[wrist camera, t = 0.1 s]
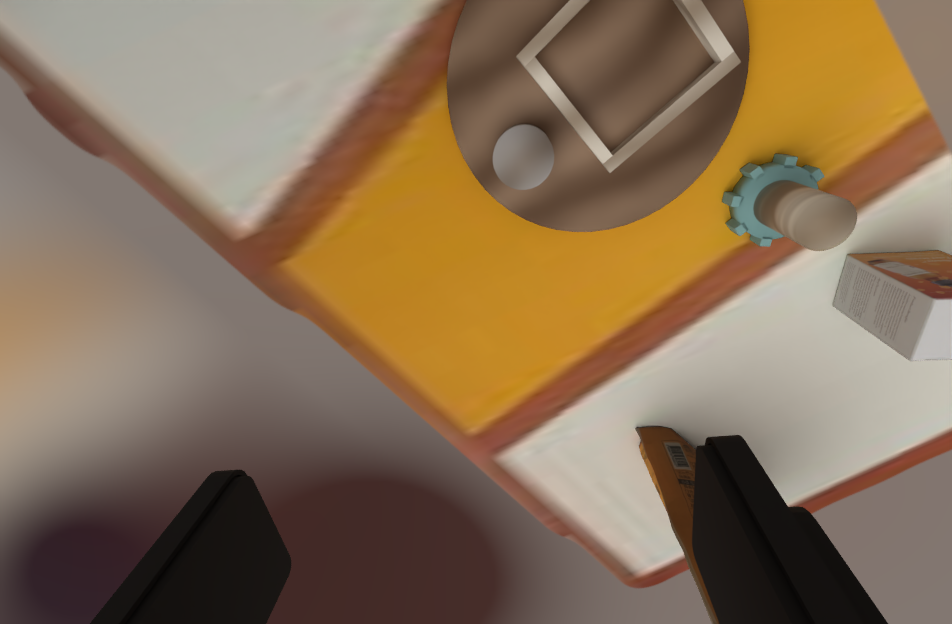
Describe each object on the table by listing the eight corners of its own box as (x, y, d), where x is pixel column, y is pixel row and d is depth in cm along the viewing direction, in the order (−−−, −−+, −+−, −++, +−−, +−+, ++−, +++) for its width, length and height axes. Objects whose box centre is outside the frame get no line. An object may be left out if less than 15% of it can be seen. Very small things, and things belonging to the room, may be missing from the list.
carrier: (392, 82, 40) (378, 82, 36) (623, -185, 32) (638, -225, 28) (567, 275, 47) (571, 293, 43) (797, 95, 38) (830, 95, 34)
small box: (938, 249, 43) (1058, 294, 33) (918, 304, 45) (1024, 361, 36) (844, 252, 43) (935, 297, 34) (829, 306, 46) (910, 363, 36)
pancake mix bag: (657, 397, 52) (789, 686, 27) (762, 487, 56) (959, 807, 31) (612, 431, 55) (693, 723, 29) (715, 514, 59) (863, 831, 34)
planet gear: (705, 196, 42) (749, 221, 34) (786, 134, 40) (854, 146, 31) (749, 255, 44) (801, 293, 36) (829, 201, 42) (904, 228, 33)
